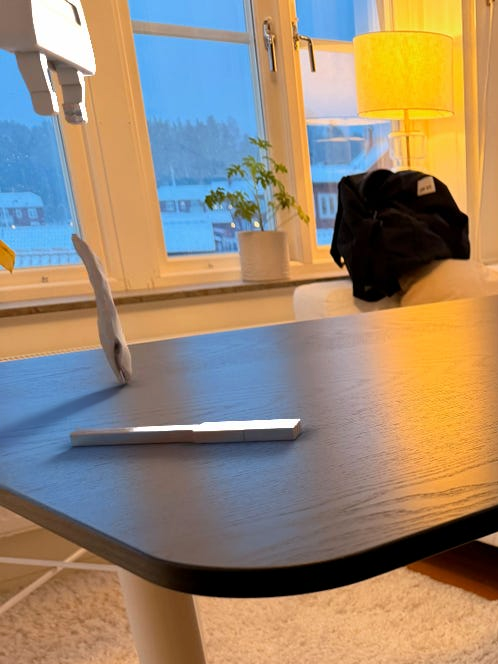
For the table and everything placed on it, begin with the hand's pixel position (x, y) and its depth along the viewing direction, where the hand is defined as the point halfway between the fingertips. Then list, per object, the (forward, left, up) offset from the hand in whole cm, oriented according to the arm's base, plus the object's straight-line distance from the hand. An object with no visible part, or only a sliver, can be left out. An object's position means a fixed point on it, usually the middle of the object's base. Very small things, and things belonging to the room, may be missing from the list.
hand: (63, 120), depth 85 cm
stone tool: (0, 0, -25) cm, 25 cm away
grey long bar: (+16, -28, -25) cm, 41 cm away
